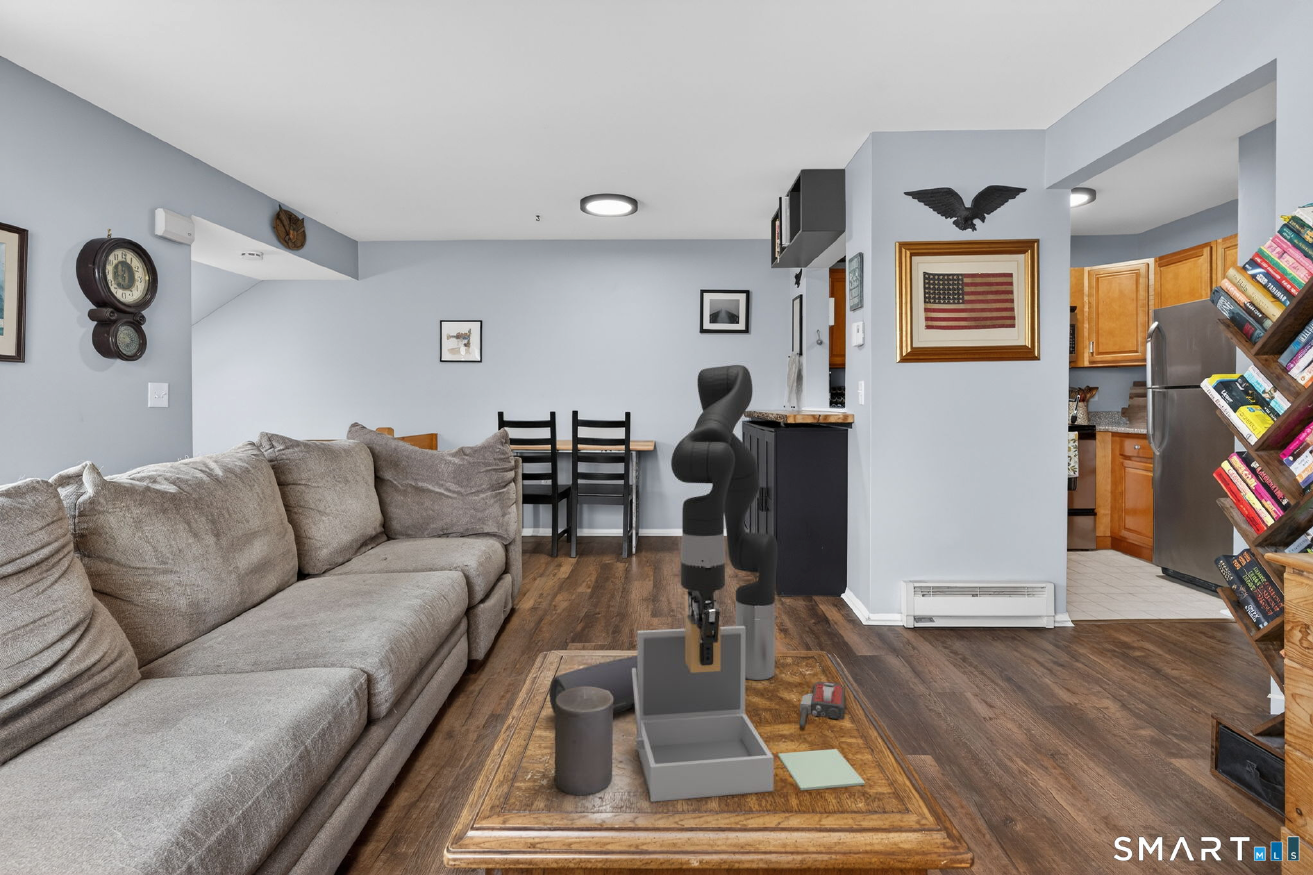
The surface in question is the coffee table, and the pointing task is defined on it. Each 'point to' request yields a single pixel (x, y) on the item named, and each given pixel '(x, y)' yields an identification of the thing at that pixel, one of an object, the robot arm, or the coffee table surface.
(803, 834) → the coffee table surface
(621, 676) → the bluetooth speaker
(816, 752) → the pad
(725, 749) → the equipment case
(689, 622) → the block
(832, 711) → the walkie-talkie
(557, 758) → the pillar candle
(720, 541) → the robot arm
